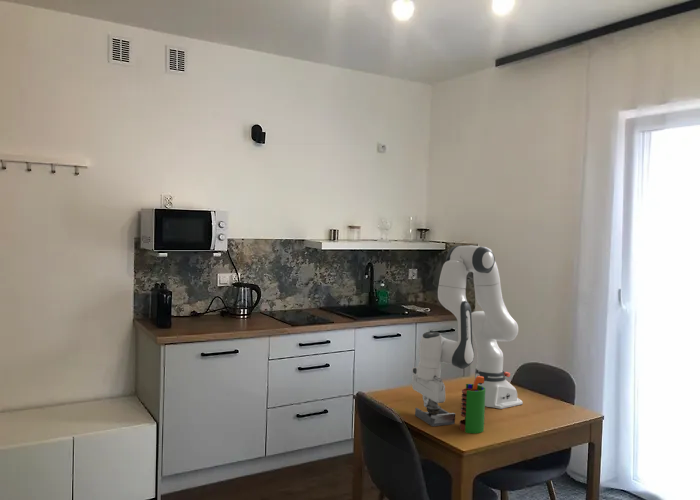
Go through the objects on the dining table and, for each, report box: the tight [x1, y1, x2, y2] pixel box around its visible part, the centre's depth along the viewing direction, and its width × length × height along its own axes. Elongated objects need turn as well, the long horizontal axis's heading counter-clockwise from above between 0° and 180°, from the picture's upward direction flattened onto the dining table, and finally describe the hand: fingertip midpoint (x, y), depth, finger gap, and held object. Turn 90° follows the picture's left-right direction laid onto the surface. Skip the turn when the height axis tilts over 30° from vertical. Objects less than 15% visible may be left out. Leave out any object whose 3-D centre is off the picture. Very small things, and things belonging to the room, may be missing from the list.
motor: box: [459, 376, 486, 434], centre depth 217 cm, size 10×9×20 cm
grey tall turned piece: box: [425, 399, 442, 416], centre depth 226 cm, size 6×6×12 cm
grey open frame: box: [414, 407, 456, 427], centre depth 226 cm, size 13×10×4 cm
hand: (427, 407), depth 230 cm, fingers closed
